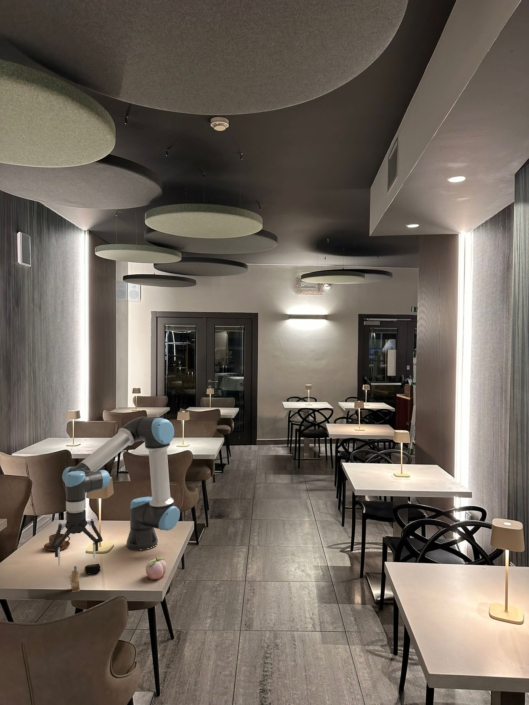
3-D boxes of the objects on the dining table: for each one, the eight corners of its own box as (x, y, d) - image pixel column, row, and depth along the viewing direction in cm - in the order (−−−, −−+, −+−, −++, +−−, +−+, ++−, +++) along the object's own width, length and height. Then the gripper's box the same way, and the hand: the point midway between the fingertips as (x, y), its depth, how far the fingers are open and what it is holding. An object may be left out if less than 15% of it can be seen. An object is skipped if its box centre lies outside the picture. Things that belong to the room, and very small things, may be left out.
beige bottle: (79, 586, 223) (79, 564, 223) (79, 589, 221) (79, 567, 221) (71, 587, 222) (71, 565, 222) (71, 590, 220) (71, 568, 219)
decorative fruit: (153, 574, 238) (153, 552, 238) (169, 577, 234) (169, 554, 234) (141, 583, 229) (141, 559, 229) (157, 586, 226) (157, 562, 226)
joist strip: (77, 575, 236) (77, 573, 236) (80, 593, 219) (80, 590, 219) (70, 576, 235) (70, 574, 235) (72, 594, 218) (72, 591, 218)
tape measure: (101, 573, 235) (100, 564, 236) (84, 576, 233) (83, 567, 234) (101, 571, 242) (100, 562, 242) (84, 574, 240) (84, 565, 240)
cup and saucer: (60, 542, 277) (60, 530, 277) (74, 547, 270) (74, 535, 270) (38, 549, 267) (38, 536, 267) (52, 554, 260) (53, 542, 260)
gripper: (106, 503, 229) (107, 553, 230) (42, 511, 220) (44, 563, 221) (108, 509, 223) (109, 560, 223) (42, 517, 213) (43, 570, 214)
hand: (76, 561), depth 222 cm, fingers open, 13 cm apart
